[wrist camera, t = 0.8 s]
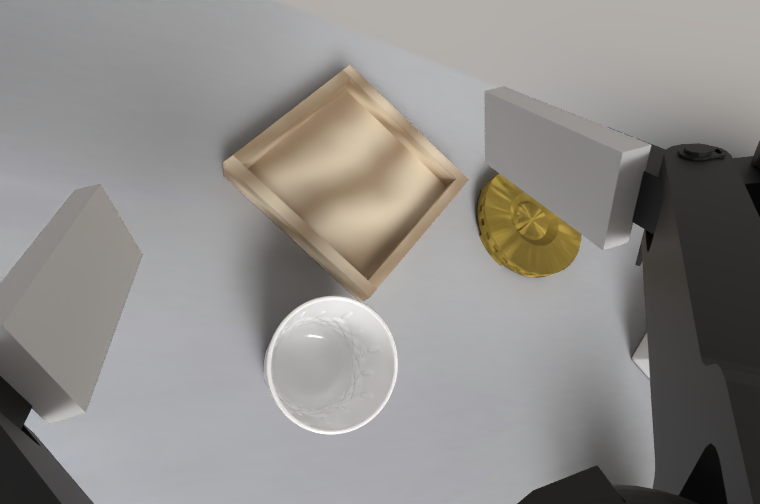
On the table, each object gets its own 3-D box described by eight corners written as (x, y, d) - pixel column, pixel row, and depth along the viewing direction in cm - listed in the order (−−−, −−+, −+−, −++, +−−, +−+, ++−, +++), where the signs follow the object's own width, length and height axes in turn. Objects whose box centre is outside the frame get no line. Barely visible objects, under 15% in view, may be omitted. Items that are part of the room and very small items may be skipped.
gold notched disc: (569, 287, 45) (584, 283, 43) (472, 267, 42) (484, 262, 40) (563, 188, 49) (578, 180, 47) (474, 163, 45) (485, 153, 44)
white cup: (368, 341, 36) (415, 328, 27) (330, 434, 33) (369, 456, 24) (284, 301, 34) (304, 273, 25) (236, 394, 31) (240, 401, 22)
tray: (223, 176, 35) (223, 162, 33) (343, 81, 42) (349, 64, 40) (360, 302, 36) (369, 297, 34) (456, 190, 43) (468, 179, 41)
